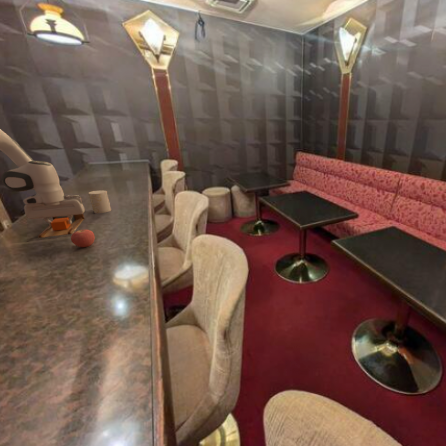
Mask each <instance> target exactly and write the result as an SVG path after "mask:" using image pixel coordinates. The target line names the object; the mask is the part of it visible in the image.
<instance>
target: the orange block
mask: <svg viewBox="0 0 446 446" xmlns="http://www.w3.org/2000/svg"><path fill="white" fill-rule="evenodd" d="M67 220H69V218H58V219H54V220H53V219H52V220H51V221H52V222H51V226H52V229H53V231H55V230H64V229H68V227H69V226H70V225H71V224H67V222H66V221H67Z"/></svg>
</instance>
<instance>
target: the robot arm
mask: <svg viewBox="0 0 446 446" xmlns="http://www.w3.org/2000/svg"><path fill="white" fill-rule="evenodd" d="M0 151H1V152H2V153H3V154H5V156H6V157H8V159H10V160H11V162H13V163H14V164H15V165H16V166H17V168H12V169H9V170H6V171H4V172H3V173H2V174H1V177H0V180H1V183H2V184H3V187H5V188H6V189H8V190H10V191H12V192H21V193H22V192H27V191H31V190H33V191H35V194H33V195H30V196H27V197H26V198H24V199H23V201H22V202H23V203H24V204H25V205H24V206H23V209H24V213H25V217H26V218H27V219H29V220H36V219H43V221H45V222H46V223H47V224H48V226H51V222H52V221H53V220H51V219H50V218H53V217H57V216H68V218H69V217H70V218H69V220H67V221H66V222H67V224H72V221H71V219H72V217H73V215H78V214H83V215H84V213H85V211H86V209H85V206H84V205H83V200H82V197H81V196H79V195H75V194H74V195H65V193H64V189H63V188H62V186H61V185H60V178H59V174H58V172H57V169H56V168H55V166H54V165H53V164H52V163H50V162H49V161H45V160H34V159H33V158H32V157H31V156H30V155H29V153H28V152H26V150H25V149H23V147H22V146H20V144H19V143H18V142H17V141H16V140H14V138H12V137H11V136H10V135H8V133H6V132H5V131H3V130H2V129H1V128H0Z"/></svg>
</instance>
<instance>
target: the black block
mask: <svg viewBox="0 0 446 446" xmlns="http://www.w3.org/2000/svg"><path fill="white" fill-rule="evenodd" d="M58 218H68V216H58V217H57V219H58ZM69 218H70V217H69ZM71 221H72V223H73V222H74V221H75V218H74V215H73V217H72V219H71Z"/></svg>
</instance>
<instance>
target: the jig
mask: <svg viewBox="0 0 446 446" xmlns="http://www.w3.org/2000/svg"><path fill="white" fill-rule="evenodd" d="M57 217H58V216H57ZM57 217H52V221H53V220H54V219H57ZM74 218H75V221H74V222H73V223H72V224H71V225H70V226H69V227H68V229H64V230H55V231H53V229H52V226H49V225H48V226H47V227H46V228H45V229H44V230H43V231H42V232H41V233H39V234H38V235H37V239H41V238H49V237H50V238H51V237H58V236H67V235H72V234H73V233H74V232H76V230H77V229H78V227H79V226H80V225H81V224H82V223H83V221H84V220H85V216H84V213H83V214H78V215H74Z"/></svg>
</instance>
